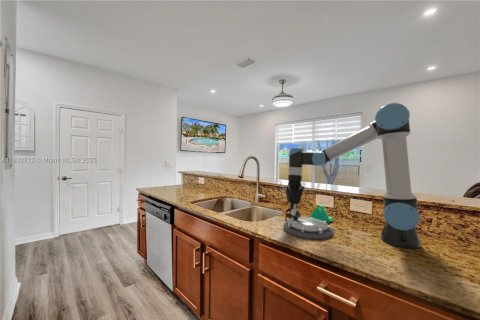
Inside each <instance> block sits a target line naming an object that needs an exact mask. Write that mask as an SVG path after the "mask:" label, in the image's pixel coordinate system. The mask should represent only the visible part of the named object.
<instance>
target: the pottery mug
mask: <svg viewBox="0 0 480 320" xmlns="http://www.w3.org/2000/svg"><path fill="white" fill-rule="evenodd" d="M288 212H290V213H288ZM299 217H302V216H301V214H300V212H299ZM290 218H293V215H291V209H290V207H289V208H287V209H286V210H285V219H290Z"/></svg>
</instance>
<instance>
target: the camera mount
mask: <svg viewBox="0 0 480 320" xmlns="http://www.w3.org/2000/svg"><path fill="white" fill-rule="evenodd" d="M310 217H312V218H315V219H319V220H322V221H326V223H330V222H331V221H333V217H332V216H329V215H328V213H327V212H326V208H325V206H324V205H323V204H319V205H318V206H316V208H315V209H314V210H313V211H312V213H311V214H310V215H309V218H310Z"/></svg>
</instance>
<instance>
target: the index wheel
mask: <svg viewBox="0 0 480 320" xmlns="http://www.w3.org/2000/svg"><path fill="white" fill-rule="evenodd" d="M299 213H300V211H299V210H298V209H296V215H295V216H293V217H290V218H286V222H287V223H288V227H289V228H293V229H295V230H298V231H301V232H309V233H319V234H322V232H326V231H327V230H330V227H331V225H329V223H328V222H326V221H322V220H319V219H315V218H312V217H310V216H309V217H307V216H301V217H299Z"/></svg>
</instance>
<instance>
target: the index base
mask: <svg viewBox="0 0 480 320" xmlns="http://www.w3.org/2000/svg"><path fill="white" fill-rule="evenodd" d="M283 230H284V231H285V232H286V233H287V234H289V235H290V236H294V237H297V238H301V239H306V240H313V241H314V240H316V241H317V240H319V241H320V240H321V241H322V240H327V239H330V238H332V237H333V236H334V228H332V227H331V226H330V230H327V231H326V232H322V234H319V233H309V232H301V231H298V230H295V229H293V228H289V227H288V223H287V221H285V222H284V223H283Z"/></svg>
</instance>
